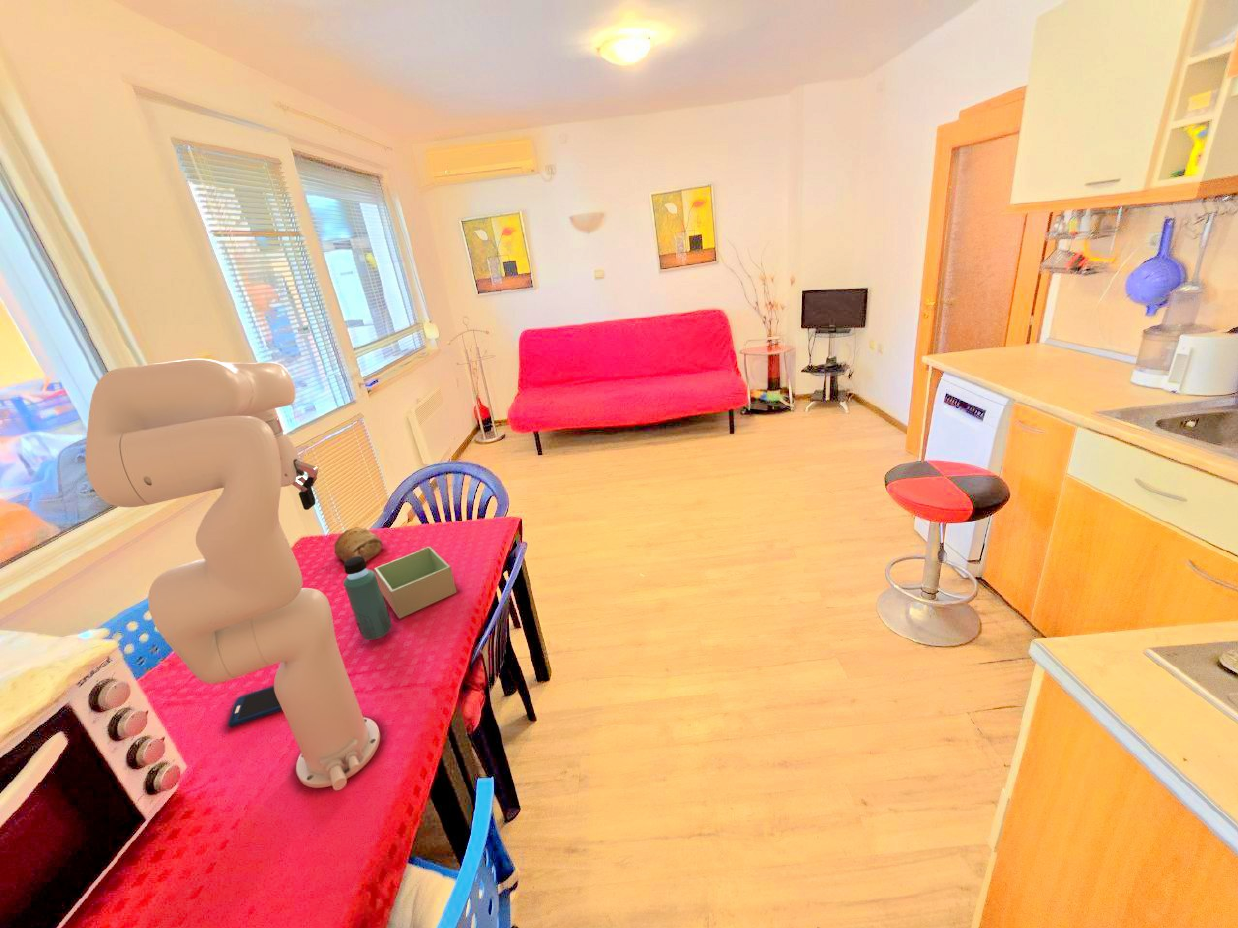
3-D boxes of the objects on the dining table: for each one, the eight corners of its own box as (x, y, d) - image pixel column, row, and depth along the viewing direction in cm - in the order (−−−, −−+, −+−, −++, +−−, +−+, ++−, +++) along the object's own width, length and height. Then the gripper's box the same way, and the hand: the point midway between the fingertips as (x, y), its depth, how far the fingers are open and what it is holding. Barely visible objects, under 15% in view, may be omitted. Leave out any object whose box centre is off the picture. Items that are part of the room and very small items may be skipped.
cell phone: (237, 700, 98) (236, 697, 98) (317, 674, 103) (316, 671, 103) (227, 728, 92) (226, 725, 91) (313, 699, 97) (312, 696, 96)
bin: (456, 592, 126) (450, 566, 123) (399, 619, 118) (391, 591, 115) (436, 570, 136) (429, 546, 134) (381, 593, 128) (374, 568, 125)
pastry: (344, 546, 153) (336, 523, 150) (387, 539, 156) (380, 516, 153) (330, 571, 140) (322, 546, 137) (378, 562, 143) (370, 537, 140)
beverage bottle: (400, 631, 113) (377, 555, 106) (373, 650, 108) (347, 571, 101) (383, 623, 117) (359, 548, 110) (356, 640, 112) (329, 564, 104)
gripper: (200, 440, 95) (233, 521, 101) (291, 432, 94) (318, 513, 101) (228, 428, 102) (257, 504, 108) (313, 421, 101) (337, 497, 108)
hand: (287, 509), depth 104 cm, fingers open, 9 cm apart
